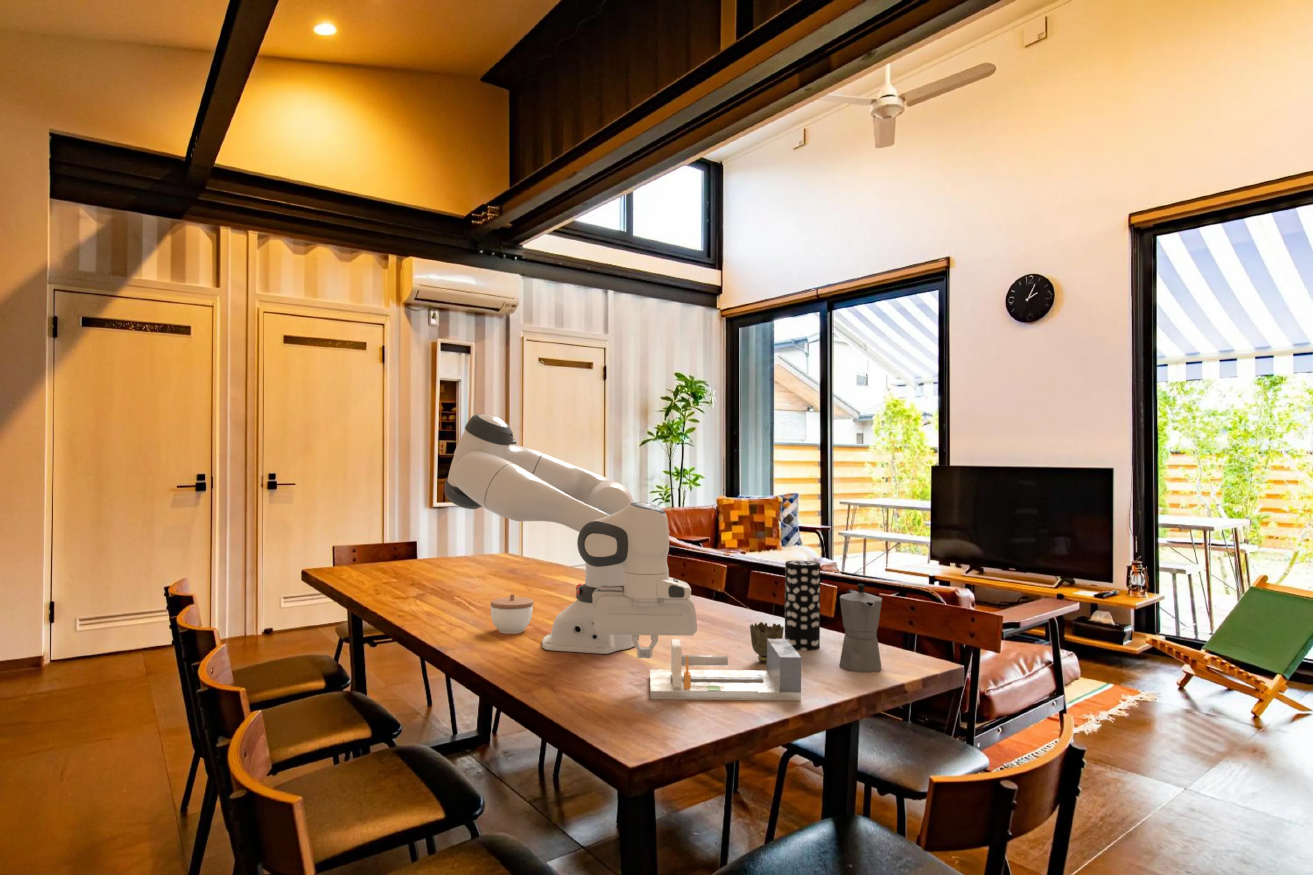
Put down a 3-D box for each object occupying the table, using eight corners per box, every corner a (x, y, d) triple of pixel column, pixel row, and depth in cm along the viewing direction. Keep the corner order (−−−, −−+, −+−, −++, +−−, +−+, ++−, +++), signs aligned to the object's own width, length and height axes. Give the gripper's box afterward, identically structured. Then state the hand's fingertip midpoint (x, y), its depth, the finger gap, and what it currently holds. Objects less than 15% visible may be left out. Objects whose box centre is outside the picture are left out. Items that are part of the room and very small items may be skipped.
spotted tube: (817, 642, 179) (818, 561, 180) (821, 651, 171) (822, 565, 172) (783, 641, 180) (784, 560, 181) (785, 649, 172) (786, 564, 173)
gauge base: (650, 699, 135) (651, 655, 135) (649, 676, 149) (650, 637, 149) (800, 700, 136) (801, 657, 136) (786, 678, 150) (786, 638, 150)
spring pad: (673, 686, 135) (673, 654, 135) (670, 669, 147) (671, 639, 147) (731, 687, 135) (731, 654, 136) (724, 669, 147) (724, 639, 147)
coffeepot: (892, 675, 152) (893, 589, 153) (848, 675, 152) (849, 589, 153) (868, 656, 168) (868, 577, 168) (827, 655, 167) (828, 577, 168)
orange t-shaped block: (684, 688, 135) (684, 657, 135) (683, 684, 138) (683, 654, 138) (690, 688, 135) (691, 657, 135) (689, 684, 138) (690, 654, 138)
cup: (787, 660, 163) (787, 624, 164) (778, 668, 157) (778, 630, 157) (755, 655, 166) (755, 620, 167) (745, 663, 160) (745, 627, 160)
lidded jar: (512, 638, 179) (513, 599, 179) (480, 632, 185) (481, 595, 185) (541, 630, 188) (542, 593, 188) (510, 624, 194) (511, 589, 194)
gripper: (591, 588, 139) (590, 661, 139) (698, 589, 140) (697, 662, 139) (593, 582, 146) (592, 652, 145) (696, 584, 146) (695, 653, 145)
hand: (644, 657), depth 142 cm, fingers closed
